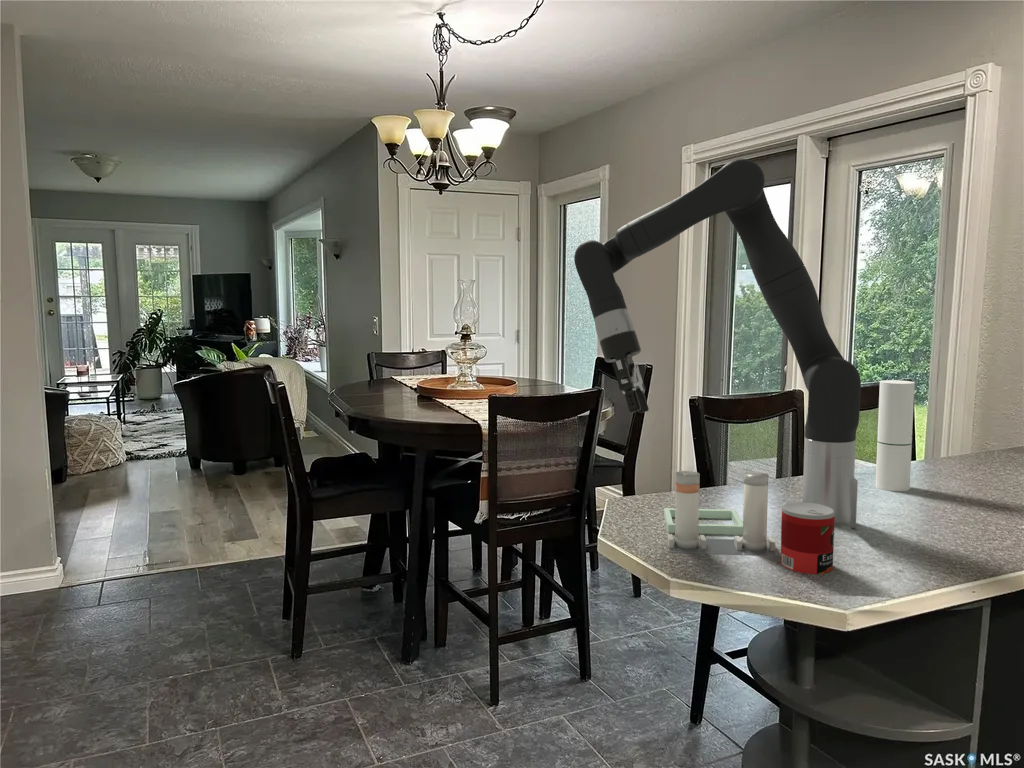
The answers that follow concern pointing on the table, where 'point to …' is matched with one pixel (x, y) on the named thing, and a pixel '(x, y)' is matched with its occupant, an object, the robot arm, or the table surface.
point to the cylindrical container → (894, 435)
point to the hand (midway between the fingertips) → (640, 411)
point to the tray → (710, 528)
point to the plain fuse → (755, 511)
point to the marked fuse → (687, 509)
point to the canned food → (807, 537)
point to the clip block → (722, 547)
